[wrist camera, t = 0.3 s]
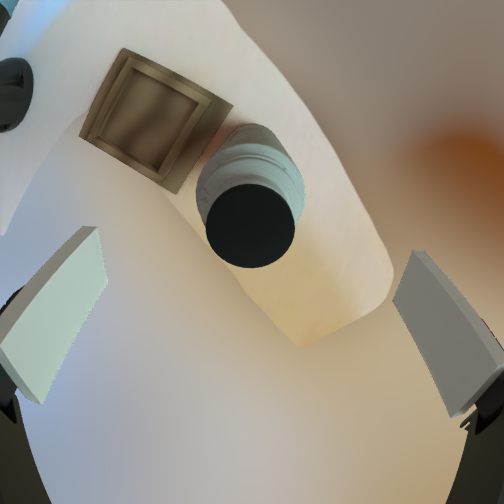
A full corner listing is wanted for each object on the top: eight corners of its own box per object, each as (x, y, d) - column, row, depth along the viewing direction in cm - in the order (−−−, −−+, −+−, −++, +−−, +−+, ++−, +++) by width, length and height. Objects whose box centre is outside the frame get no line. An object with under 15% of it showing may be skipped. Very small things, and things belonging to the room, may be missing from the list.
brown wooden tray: (80, 135, 38) (72, 137, 36) (125, 48, 31) (118, 46, 29) (176, 193, 43) (172, 198, 41) (233, 105, 37) (232, 105, 34)
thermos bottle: (213, 152, 40) (149, 236, 16) (250, 112, 37) (242, 124, 13) (254, 186, 43) (253, 312, 18) (291, 149, 40) (351, 228, 15)
